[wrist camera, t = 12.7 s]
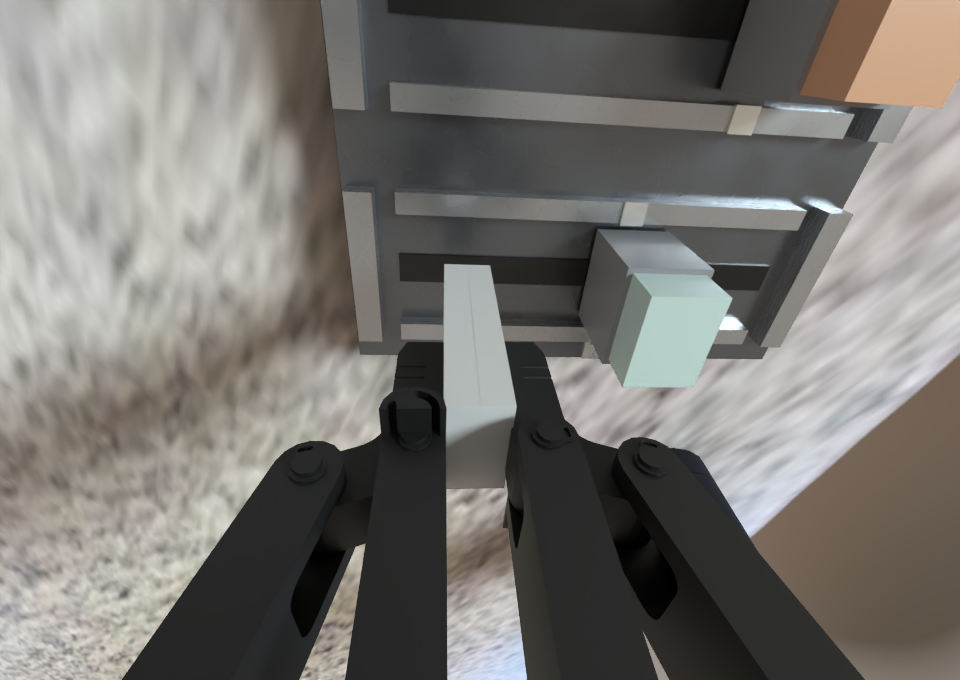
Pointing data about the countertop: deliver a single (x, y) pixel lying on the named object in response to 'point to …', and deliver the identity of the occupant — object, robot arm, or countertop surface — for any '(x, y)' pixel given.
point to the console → (575, 161)
